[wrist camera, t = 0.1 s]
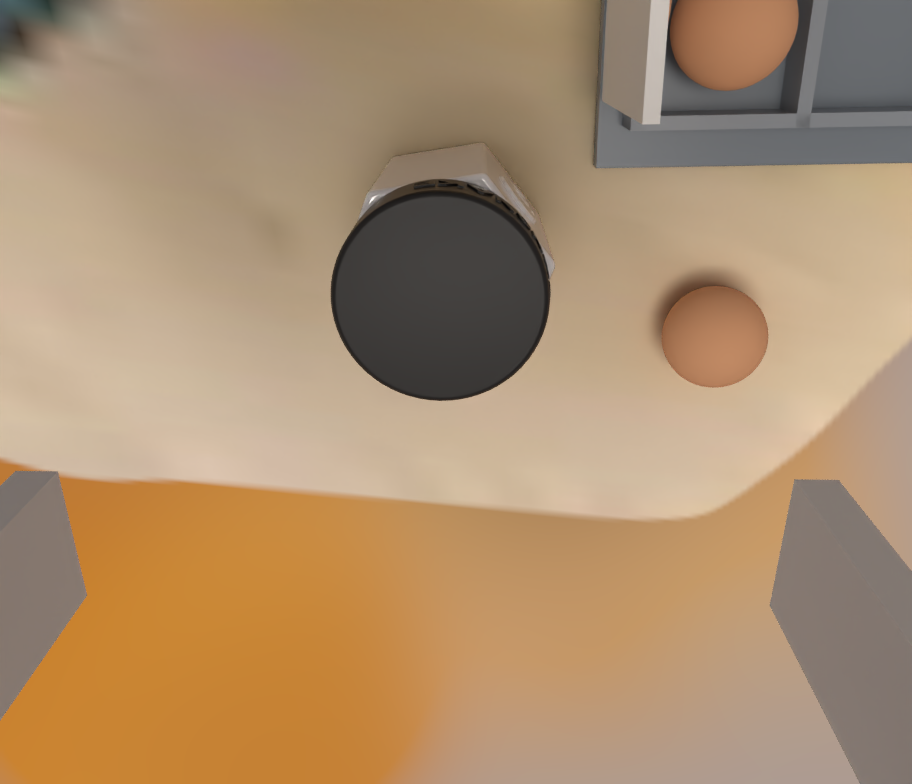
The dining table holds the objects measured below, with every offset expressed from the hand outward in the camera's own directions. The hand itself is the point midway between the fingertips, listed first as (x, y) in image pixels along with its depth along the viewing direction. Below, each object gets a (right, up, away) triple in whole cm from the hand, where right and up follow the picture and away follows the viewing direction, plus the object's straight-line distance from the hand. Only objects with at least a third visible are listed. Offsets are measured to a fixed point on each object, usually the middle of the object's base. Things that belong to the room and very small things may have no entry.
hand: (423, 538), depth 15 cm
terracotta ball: (+12, +19, +21) cm, 30 cm away
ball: (+13, +6, +27) cm, 31 cm away
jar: (0, +11, +26) cm, 28 cm away
